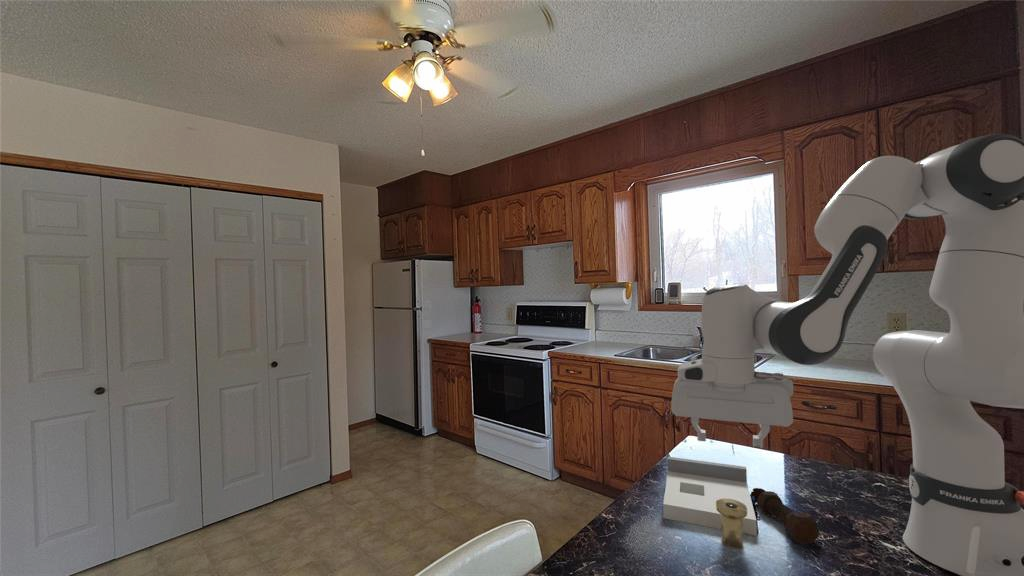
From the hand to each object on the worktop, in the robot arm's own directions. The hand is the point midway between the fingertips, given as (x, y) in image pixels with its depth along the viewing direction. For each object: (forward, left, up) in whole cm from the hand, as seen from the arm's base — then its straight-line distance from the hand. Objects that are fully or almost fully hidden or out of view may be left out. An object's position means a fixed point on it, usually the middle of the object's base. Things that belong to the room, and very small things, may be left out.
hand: (729, 443), depth 79 cm
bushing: (0, 0, -19) cm, 19 cm away
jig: (+4, -13, -19) cm, 23 cm away
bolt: (-10, -11, -19) cm, 24 cm away
